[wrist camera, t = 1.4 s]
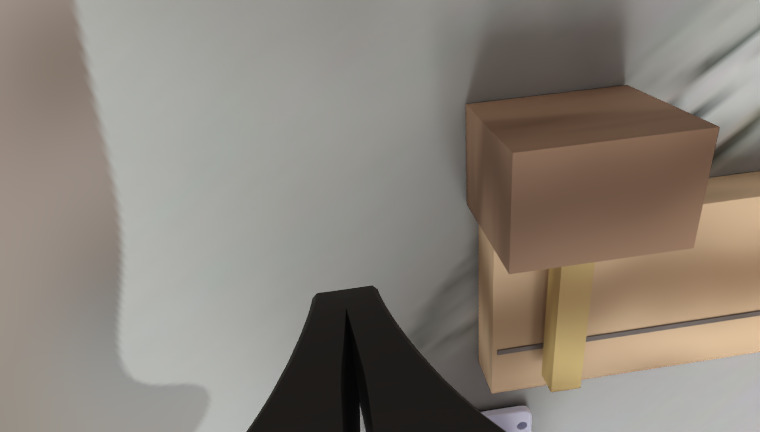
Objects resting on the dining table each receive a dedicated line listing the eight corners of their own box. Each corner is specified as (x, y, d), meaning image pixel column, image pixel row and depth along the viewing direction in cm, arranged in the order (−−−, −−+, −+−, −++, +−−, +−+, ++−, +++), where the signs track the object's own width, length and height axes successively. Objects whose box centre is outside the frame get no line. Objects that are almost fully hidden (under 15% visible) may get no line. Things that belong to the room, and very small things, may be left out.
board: (897, 298, 26) (941, 324, 25) (478, 361, 25) (492, 394, 23) (965, 144, 23) (1022, 161, 21) (478, 208, 21) (494, 233, 20)
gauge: (596, 323, 25) (659, 407, 20) (468, 342, 24) (504, 432, 20) (626, 84, 20) (719, 127, 15) (465, 104, 19) (512, 153, 15)
